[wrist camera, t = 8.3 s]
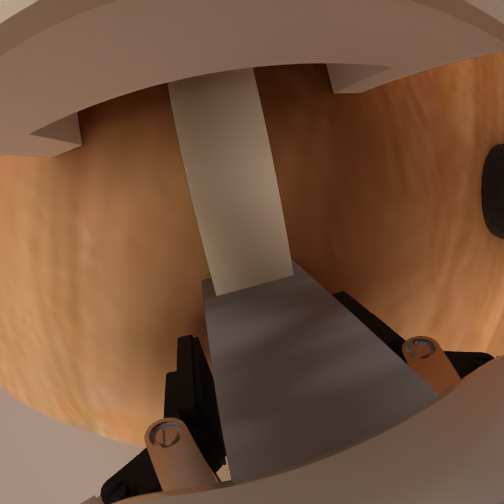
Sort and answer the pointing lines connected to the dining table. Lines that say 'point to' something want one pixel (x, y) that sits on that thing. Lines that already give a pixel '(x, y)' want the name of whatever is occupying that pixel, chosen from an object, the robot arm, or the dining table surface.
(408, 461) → the robot arm
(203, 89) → the grey block on stick
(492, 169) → the travel mug
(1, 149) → the white open box
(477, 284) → the dining table surface
